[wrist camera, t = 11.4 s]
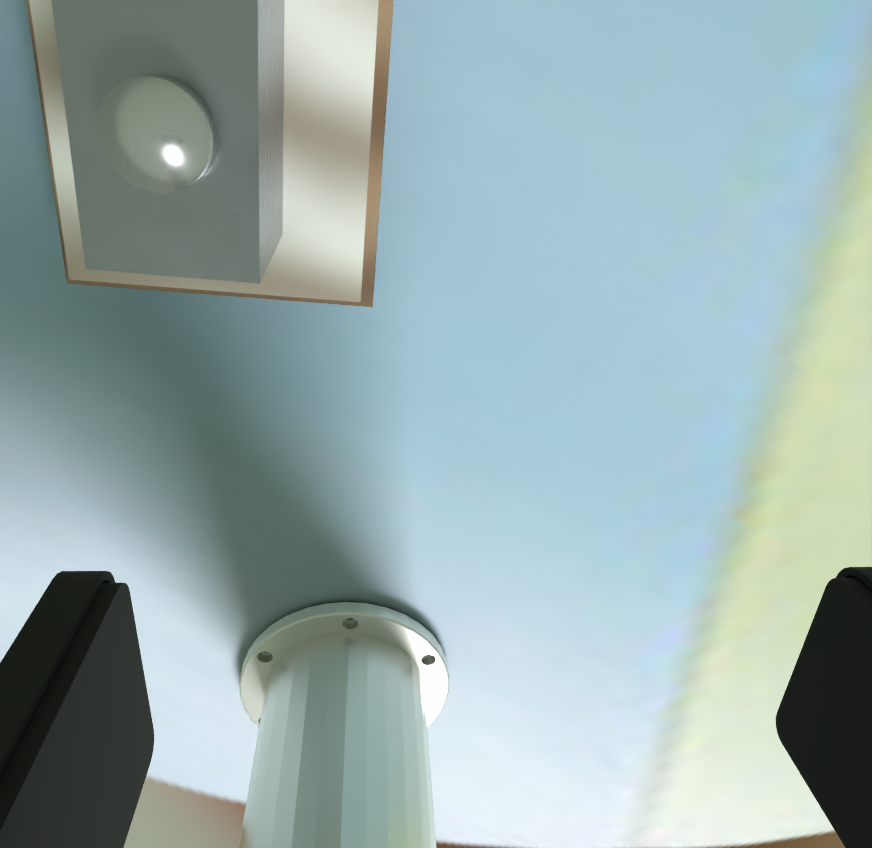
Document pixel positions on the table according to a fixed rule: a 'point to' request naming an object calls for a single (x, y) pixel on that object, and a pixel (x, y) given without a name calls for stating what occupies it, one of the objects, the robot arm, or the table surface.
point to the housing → (175, 133)
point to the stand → (302, 157)
